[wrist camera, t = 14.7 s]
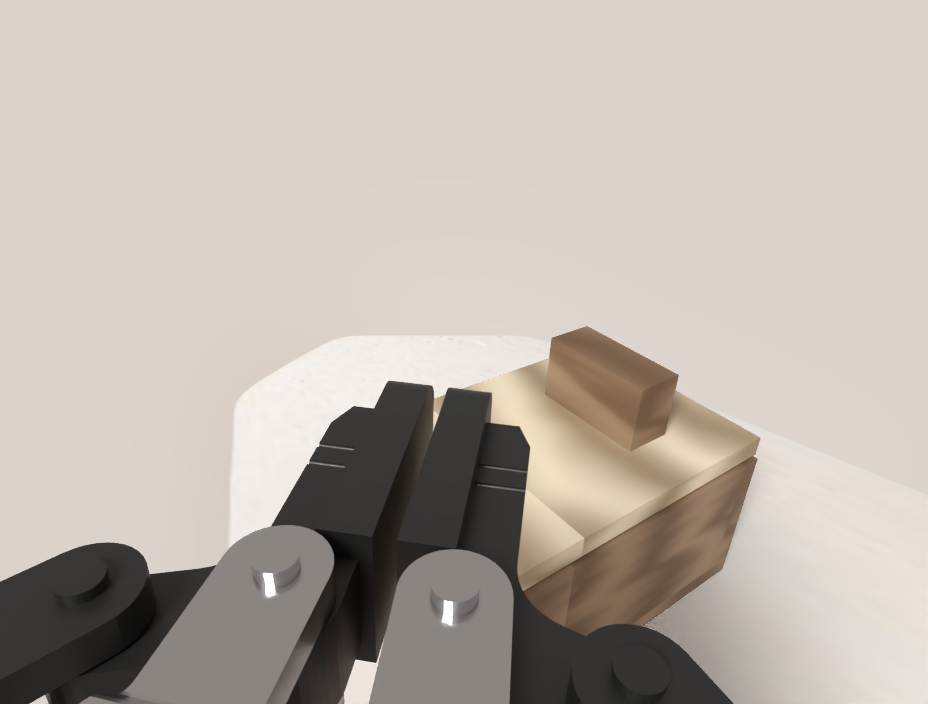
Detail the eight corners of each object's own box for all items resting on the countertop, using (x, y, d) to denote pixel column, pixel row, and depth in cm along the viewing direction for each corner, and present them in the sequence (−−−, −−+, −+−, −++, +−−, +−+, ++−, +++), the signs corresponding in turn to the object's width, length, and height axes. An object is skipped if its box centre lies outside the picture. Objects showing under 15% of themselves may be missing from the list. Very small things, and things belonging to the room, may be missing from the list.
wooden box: (571, 457, 53) (586, 359, 49) (722, 568, 43) (757, 458, 39) (346, 563, 42) (339, 450, 38) (479, 743, 33) (490, 618, 28)
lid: (588, 358, 49) (598, 292, 46) (755, 454, 39) (779, 378, 37) (334, 451, 38) (329, 372, 35) (480, 616, 28) (488, 524, 26)
